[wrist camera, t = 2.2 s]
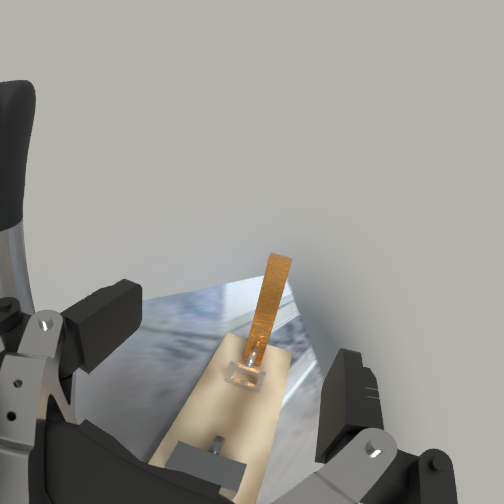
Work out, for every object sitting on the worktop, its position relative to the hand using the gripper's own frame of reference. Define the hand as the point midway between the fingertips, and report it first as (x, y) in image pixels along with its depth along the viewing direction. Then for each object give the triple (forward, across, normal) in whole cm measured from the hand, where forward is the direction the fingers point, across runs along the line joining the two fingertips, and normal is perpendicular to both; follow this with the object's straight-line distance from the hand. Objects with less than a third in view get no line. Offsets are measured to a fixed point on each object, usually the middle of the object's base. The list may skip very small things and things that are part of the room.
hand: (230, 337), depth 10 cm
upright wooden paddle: (+20, 0, +18) cm, 27 cm away
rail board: (+12, 0, +20) cm, 23 cm away
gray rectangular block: (+3, 0, +18) cm, 19 cm away
